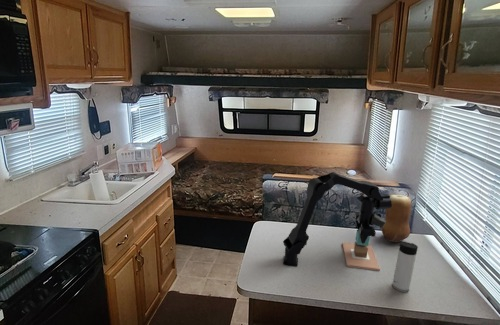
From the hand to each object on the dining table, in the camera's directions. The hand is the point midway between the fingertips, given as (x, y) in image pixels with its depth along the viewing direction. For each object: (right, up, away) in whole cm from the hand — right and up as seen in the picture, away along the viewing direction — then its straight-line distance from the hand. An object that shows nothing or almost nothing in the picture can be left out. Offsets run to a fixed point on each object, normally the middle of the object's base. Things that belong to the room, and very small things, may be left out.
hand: (362, 240), depth 148 cm
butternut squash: (+23, -5, +18) cm, 30 cm away
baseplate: (0, -8, +2) cm, 8 cm away
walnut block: (0, -7, +2) cm, 7 cm away
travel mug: (+9, -15, -19) cm, 25 cm away
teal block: (0, -1, 0) cm, 1 cm away
